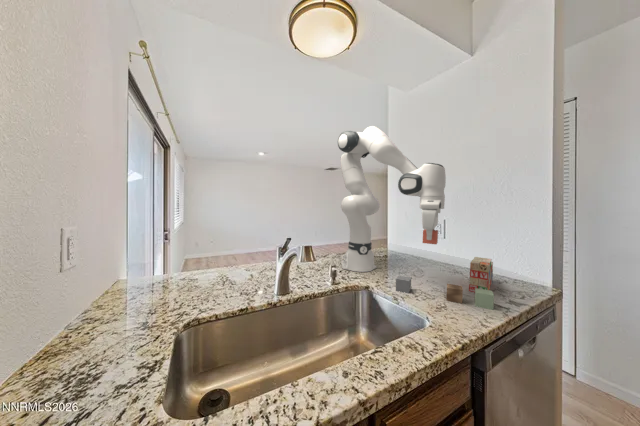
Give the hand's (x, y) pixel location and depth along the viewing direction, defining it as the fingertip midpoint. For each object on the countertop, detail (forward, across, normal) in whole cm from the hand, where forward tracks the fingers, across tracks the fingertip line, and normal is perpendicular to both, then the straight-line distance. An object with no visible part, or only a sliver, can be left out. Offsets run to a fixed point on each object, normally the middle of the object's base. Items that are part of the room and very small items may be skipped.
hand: (430, 238), depth 95 cm
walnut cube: (+21, +4, +10) cm, 24 cm away
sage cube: (+21, +4, +18) cm, 28 cm away
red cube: (+2, 0, 0) cm, 2 cm away
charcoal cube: (+21, +4, -8) cm, 23 cm away
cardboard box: (+22, -19, +19) cm, 35 cm away
